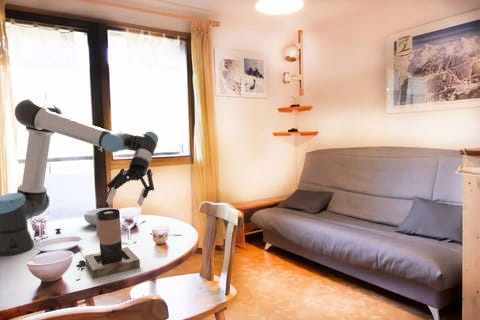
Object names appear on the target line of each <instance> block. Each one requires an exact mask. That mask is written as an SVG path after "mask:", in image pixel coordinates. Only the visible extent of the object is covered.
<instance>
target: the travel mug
mask: <svg viewBox="0 0 480 320" xmlns="http://www.w3.org/2000/svg"><path fill="white" fill-rule="evenodd" d="M120 214H121V213H120V210H119V209H118V208H116V209H107V210H102V211H100V212H99V213H98V224H99V235H98V240H99V241H98V243H99V253H101V262H102V265H106V264H110V263H115V262H119V261H122V248H123V246H122V227H121V215H120Z"/></svg>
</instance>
